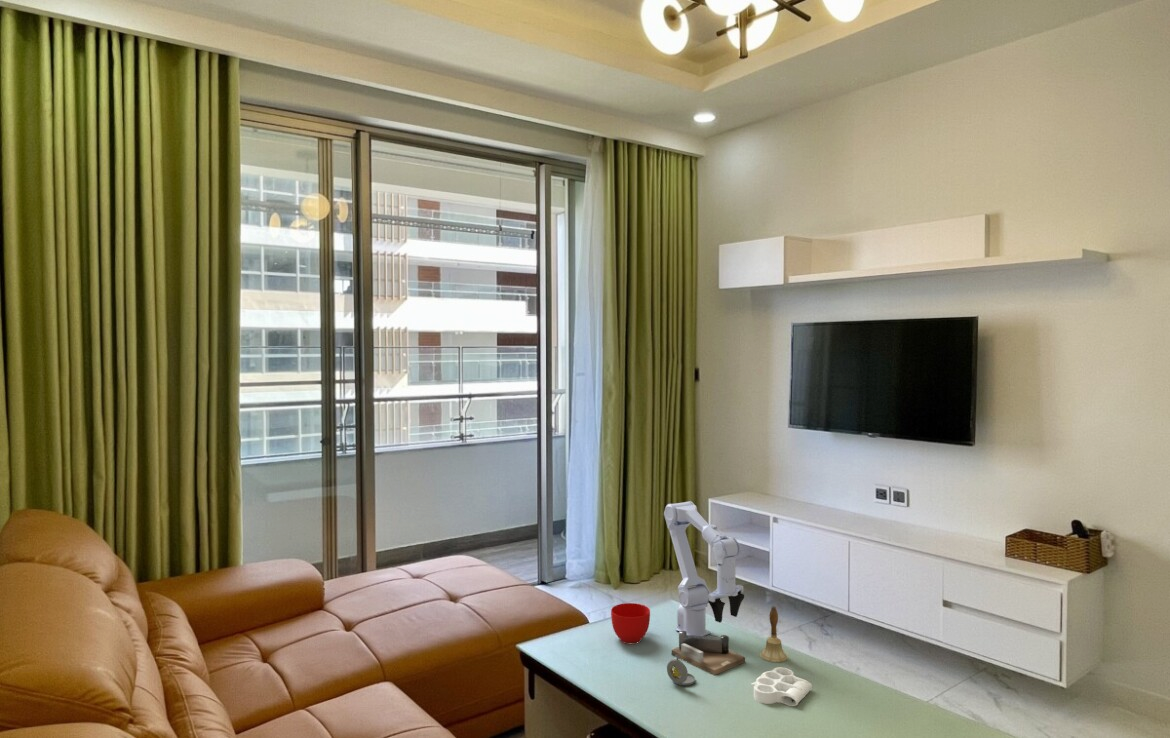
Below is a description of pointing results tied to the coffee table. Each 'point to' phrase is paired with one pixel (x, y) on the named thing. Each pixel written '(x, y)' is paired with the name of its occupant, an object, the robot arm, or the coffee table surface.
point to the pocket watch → (679, 672)
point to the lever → (705, 642)
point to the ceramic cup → (630, 621)
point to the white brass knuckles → (780, 687)
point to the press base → (709, 659)
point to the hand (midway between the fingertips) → (726, 618)
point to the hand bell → (773, 642)
